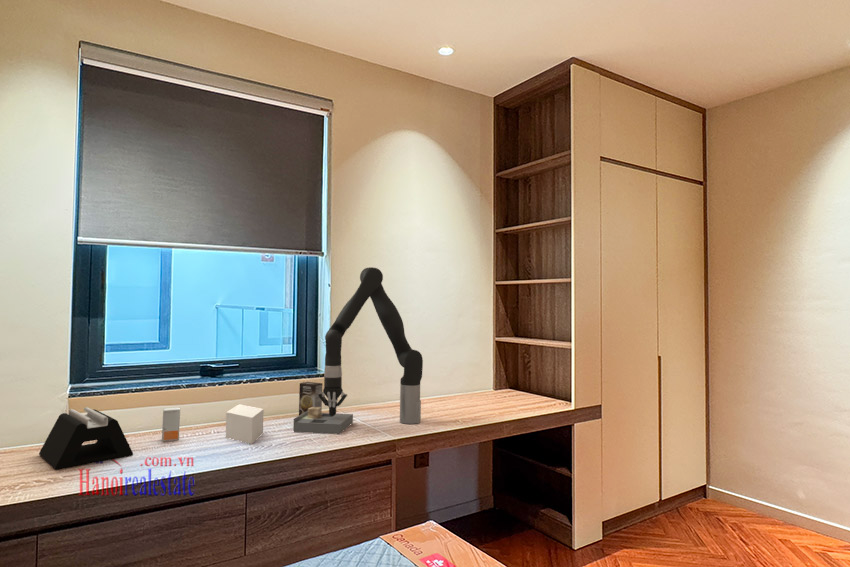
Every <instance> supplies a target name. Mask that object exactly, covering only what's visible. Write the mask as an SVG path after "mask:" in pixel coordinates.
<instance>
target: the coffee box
mask: <svg viewBox="0 0 850 567" xmlns="http://www.w3.org/2000/svg"><path fill="white" fill-rule="evenodd" d="M323 386H324V383H323V382H311V381H305V382H304V381H303V382H300V383H299V391H298V392H299V398H298V416H299V415H301V414H303V413H305V412H306V411H308V409H309V408H311V407H323V406H322V404H323V402H322V400H321V399H320V398H319V396H318V395H319V394H321V393H322V392H323ZM321 413H323V410H321Z"/></svg>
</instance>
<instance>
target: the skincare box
mask: <svg viewBox="0 0 850 567" xmlns="http://www.w3.org/2000/svg"><path fill="white" fill-rule="evenodd" d="M180 419H181V408H180V407H169V408H168V407H167V408H163V409H162V431H161V441H162V442H169V441H170V442H171V441H179V440H180V426H181V425H180V421H181V420H180Z"/></svg>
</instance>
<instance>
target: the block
mask: <svg viewBox="0 0 850 567" xmlns="http://www.w3.org/2000/svg"><path fill="white" fill-rule="evenodd" d="M322 407H323V406H322ZM322 407H311V408H309V409H308V418H313V419H318V418H320V417H321V410H322V409H323V408H322ZM322 411H323V410H322Z"/></svg>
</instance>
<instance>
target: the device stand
mask: <svg viewBox="0 0 850 567" xmlns="http://www.w3.org/2000/svg"><path fill="white" fill-rule="evenodd" d="M83 411H84V412H86V414H83V413H81V412H79V411H77V410H75V409H74V408H70V409H68V413H66V412H63V413H60V414H59V416H58V418H57V419H56V421H55V423H54V425H53V426H52V428H51V431H50V432H49V434H48V436H47V438H46V439H45V441H44V442H43V445H42V447H41V449H40V450H39V453H38V455H39V456H40V457H41V458H42V459H43V460H44V461H45V462H47V464H49V465H50V466H51V467H52V468H53V469H54V470H56V471H60V470H64V469H69V468H75V467H81V466H86V465H90V464H97V463H102V462H106V461H107V462H108V461H112V460H118V459H121V458H123V459H124V458H128V457H132V456H134V453H133V450H132V449H131V446H130V444H129V442H128V439H127V438H126V436H125V434H124V432H123V430H122V427H121V426H120V423H119V421H118V420H117V419H115V418H113V417H111V416H109V415H107V414H105V413H103V412H101V411H99V410H98V409H92V408H89V407H88V406H86V407H84V408H83ZM94 441H96V442H94ZM87 442H94V443H88V444H83V443H87Z"/></svg>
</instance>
